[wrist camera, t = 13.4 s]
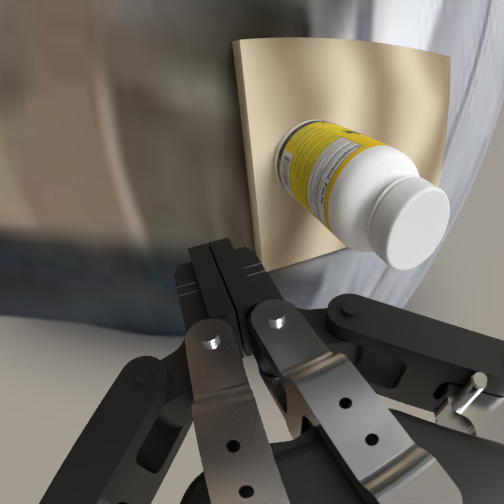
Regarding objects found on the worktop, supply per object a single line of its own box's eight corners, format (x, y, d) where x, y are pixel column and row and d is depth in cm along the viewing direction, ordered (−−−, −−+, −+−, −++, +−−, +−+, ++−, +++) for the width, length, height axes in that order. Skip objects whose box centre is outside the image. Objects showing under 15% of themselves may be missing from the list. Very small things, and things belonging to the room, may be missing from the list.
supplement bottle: (357, 154, 20) (468, 220, 12) (307, 210, 21) (398, 301, 14) (313, 99, 17) (441, 145, 9) (254, 163, 18) (348, 252, 10)
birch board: (256, 261, 24) (263, 272, 23) (232, 41, 15) (239, 39, 14) (421, 212, 28) (431, 219, 27) (437, 54, 18) (450, 56, 17)
